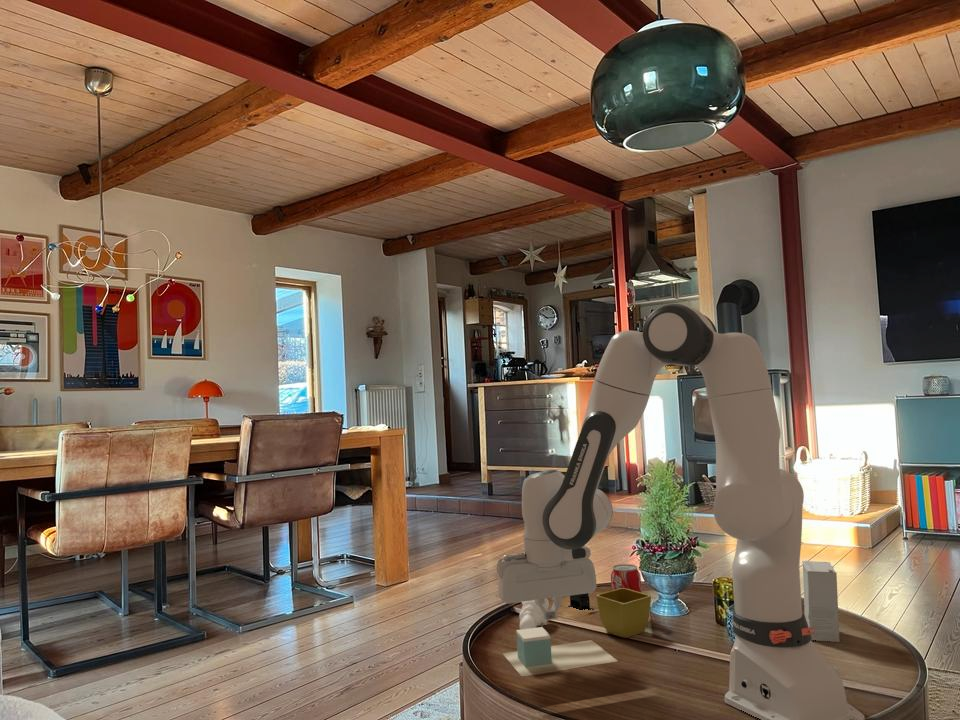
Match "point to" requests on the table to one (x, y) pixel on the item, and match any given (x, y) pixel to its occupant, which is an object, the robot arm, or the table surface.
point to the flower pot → (624, 611)
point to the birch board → (565, 658)
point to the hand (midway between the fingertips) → (549, 619)
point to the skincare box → (821, 600)
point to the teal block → (534, 647)
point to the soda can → (626, 577)
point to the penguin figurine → (531, 615)
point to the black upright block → (580, 602)
